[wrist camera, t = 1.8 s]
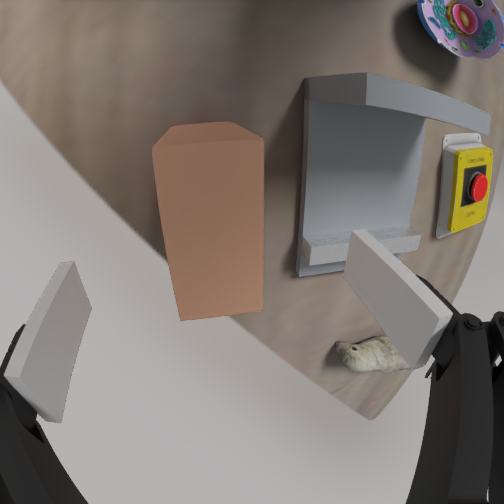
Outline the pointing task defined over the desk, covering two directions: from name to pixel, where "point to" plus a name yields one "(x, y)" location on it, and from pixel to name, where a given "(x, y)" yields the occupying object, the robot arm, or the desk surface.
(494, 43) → the cell model
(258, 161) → the cabinet block
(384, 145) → the gray bracket stand
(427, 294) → the robot arm
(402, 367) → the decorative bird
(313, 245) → the strip
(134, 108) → the desk surface
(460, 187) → the emergency button
